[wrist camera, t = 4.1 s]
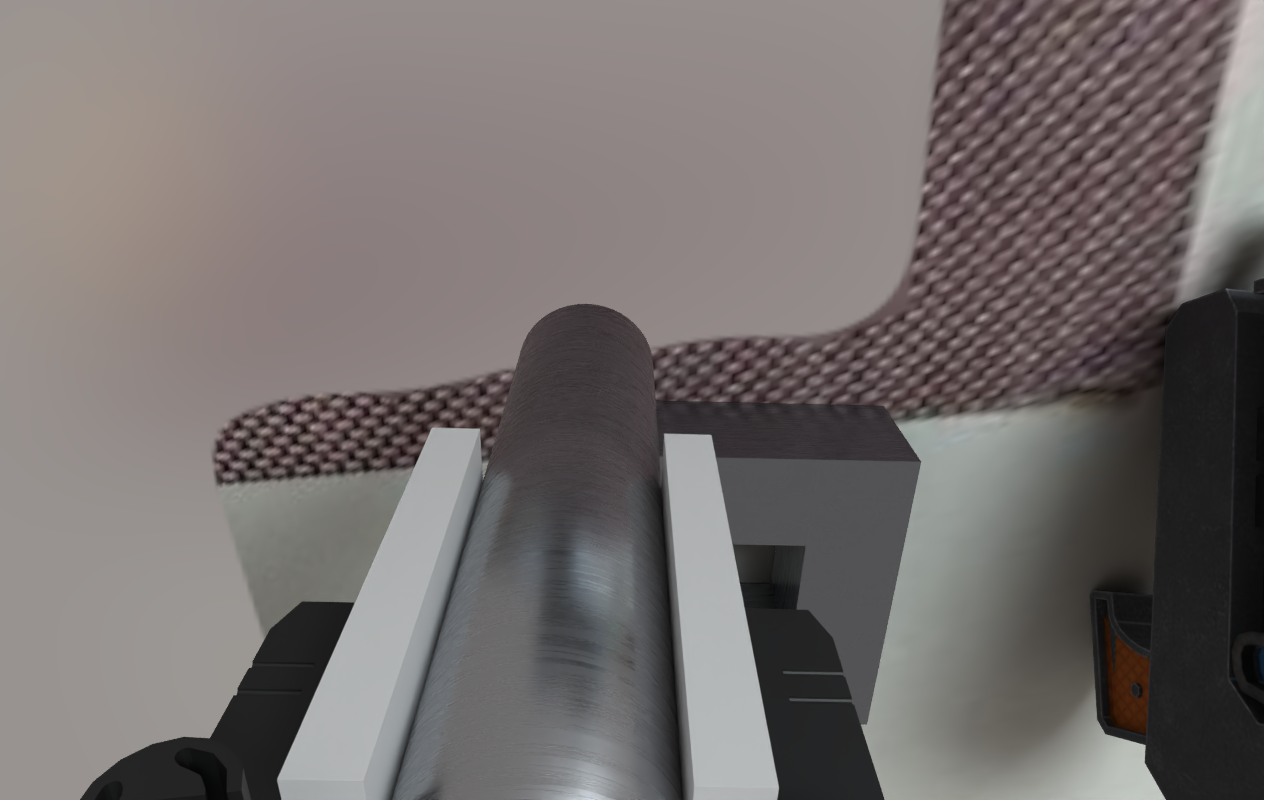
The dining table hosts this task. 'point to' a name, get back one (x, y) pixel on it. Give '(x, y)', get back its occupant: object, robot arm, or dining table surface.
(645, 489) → the grey metal rod
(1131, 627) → the toy gun
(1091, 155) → the dining table surface
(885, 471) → the grey holed block
